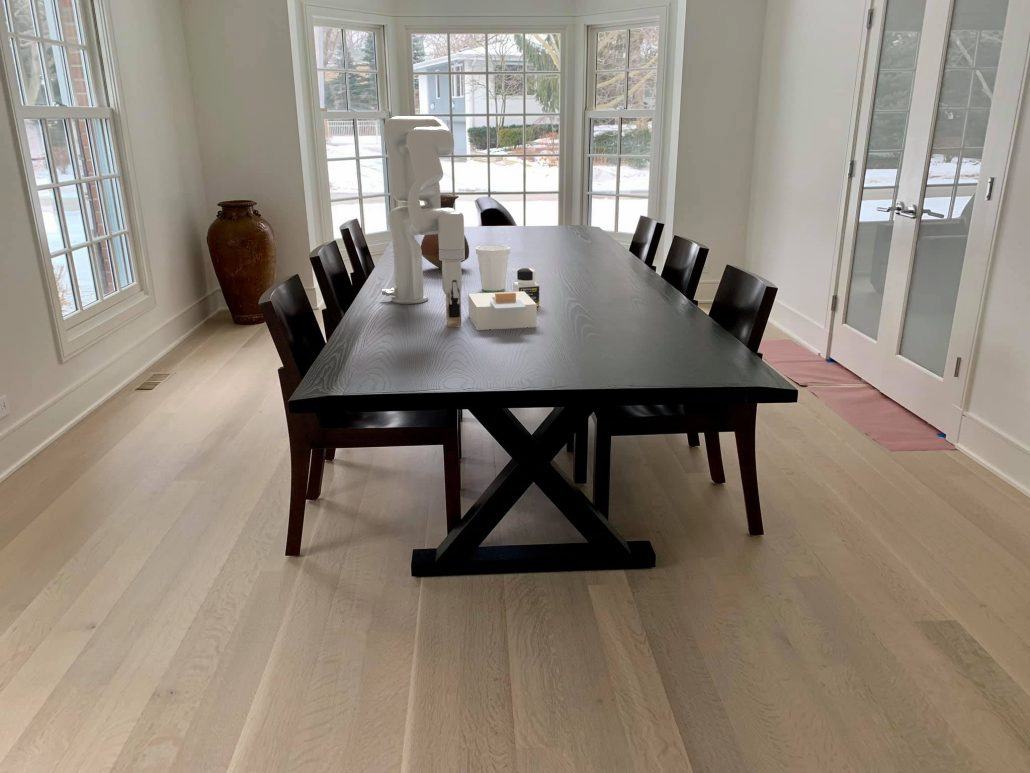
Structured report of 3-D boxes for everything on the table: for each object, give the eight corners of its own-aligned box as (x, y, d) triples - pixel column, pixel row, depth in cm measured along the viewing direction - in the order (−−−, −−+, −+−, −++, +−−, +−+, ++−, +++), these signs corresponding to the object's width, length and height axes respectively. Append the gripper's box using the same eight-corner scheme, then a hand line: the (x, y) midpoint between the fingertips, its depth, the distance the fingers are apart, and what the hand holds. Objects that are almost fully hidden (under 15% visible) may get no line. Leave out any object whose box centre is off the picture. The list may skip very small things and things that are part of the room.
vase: (470, 275, 300) (468, 198, 290) (420, 275, 298) (416, 198, 288) (468, 263, 323) (467, 192, 313) (422, 264, 322) (419, 192, 311)
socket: (477, 330, 222) (476, 307, 220) (468, 315, 238) (468, 293, 236) (536, 327, 225) (536, 304, 223) (524, 312, 242) (524, 291, 239)
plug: (448, 327, 225) (446, 282, 220) (446, 323, 229) (445, 280, 224) (461, 326, 226) (460, 282, 221) (459, 323, 229) (458, 279, 225)
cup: (469, 291, 272) (469, 248, 267) (487, 284, 282) (486, 244, 277) (500, 294, 266) (499, 251, 261) (516, 288, 277) (516, 246, 272)
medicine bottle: (518, 307, 248) (518, 271, 244) (513, 302, 255) (513, 267, 251) (539, 306, 250) (539, 270, 246) (533, 301, 257) (533, 266, 253)
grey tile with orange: (495, 310, 215) (495, 300, 214) (490, 303, 223) (490, 293, 222) (526, 309, 216) (526, 298, 215) (519, 302, 225) (519, 291, 224)
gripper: (436, 250, 227) (438, 309, 233) (442, 259, 212) (444, 322, 218) (461, 249, 228) (462, 308, 235) (468, 258, 213) (469, 321, 219)
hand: (453, 314), depth 226 cm, fingers closed on plug, 4 cm apart
